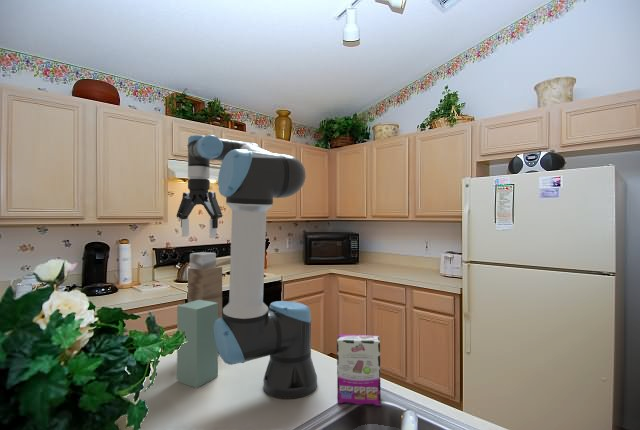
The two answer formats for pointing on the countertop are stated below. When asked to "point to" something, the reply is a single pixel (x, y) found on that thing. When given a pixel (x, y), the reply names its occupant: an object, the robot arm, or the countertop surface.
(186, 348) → the sage block
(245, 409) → the countertop surface
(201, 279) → the walnut pillar
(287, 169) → the robot arm
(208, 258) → the meat mallet
